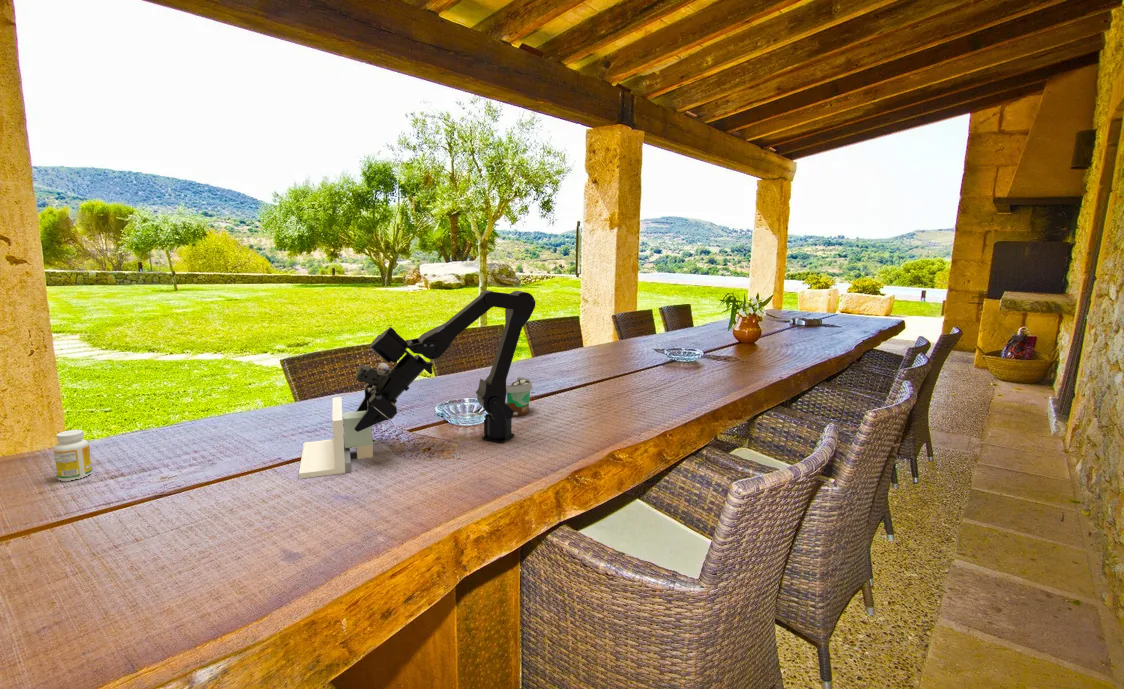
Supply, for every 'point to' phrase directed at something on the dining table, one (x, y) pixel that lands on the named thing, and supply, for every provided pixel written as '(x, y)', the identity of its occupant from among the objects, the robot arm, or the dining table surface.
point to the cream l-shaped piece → (327, 450)
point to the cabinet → (357, 435)
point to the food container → (519, 396)
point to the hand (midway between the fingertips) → (355, 424)
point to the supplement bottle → (72, 456)
